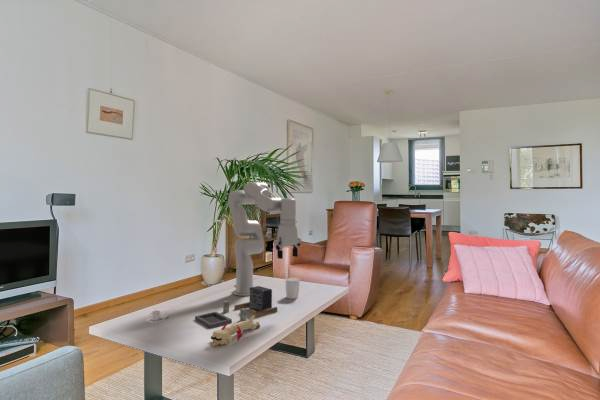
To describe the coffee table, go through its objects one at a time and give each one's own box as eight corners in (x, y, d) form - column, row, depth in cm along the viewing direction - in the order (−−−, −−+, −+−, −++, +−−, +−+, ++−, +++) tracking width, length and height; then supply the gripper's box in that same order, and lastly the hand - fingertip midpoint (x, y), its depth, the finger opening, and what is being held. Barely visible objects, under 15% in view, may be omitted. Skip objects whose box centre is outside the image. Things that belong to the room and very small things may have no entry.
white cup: (283, 296, 198) (283, 278, 198) (296, 294, 202) (296, 277, 201) (288, 299, 191) (288, 281, 191) (301, 298, 194) (301, 280, 194)
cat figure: (245, 327, 153) (202, 343, 132) (246, 307, 154) (204, 319, 132) (263, 332, 148) (222, 349, 127) (265, 311, 149) (224, 324, 127)
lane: (223, 311, 170) (223, 301, 170) (257, 303, 184) (257, 294, 184) (242, 321, 157) (242, 309, 157) (277, 311, 171) (277, 301, 171)
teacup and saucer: (168, 316, 164) (168, 308, 164) (165, 322, 156) (165, 313, 156) (148, 318, 162) (148, 309, 162) (144, 324, 154) (144, 314, 154)
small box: (272, 310, 173) (272, 289, 173) (262, 313, 168) (262, 291, 168) (258, 305, 180) (258, 285, 180) (248, 308, 176) (248, 287, 176)
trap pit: (194, 319, 159) (194, 316, 159) (215, 314, 166) (215, 311, 166) (210, 328, 148) (210, 324, 148) (231, 322, 155) (231, 319, 155)
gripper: (296, 221, 183) (295, 254, 183) (269, 223, 172) (269, 258, 172) (305, 222, 178) (305, 256, 178) (279, 224, 166) (278, 260, 166)
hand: (287, 257), depth 175 cm, fingers open, 9 cm apart
